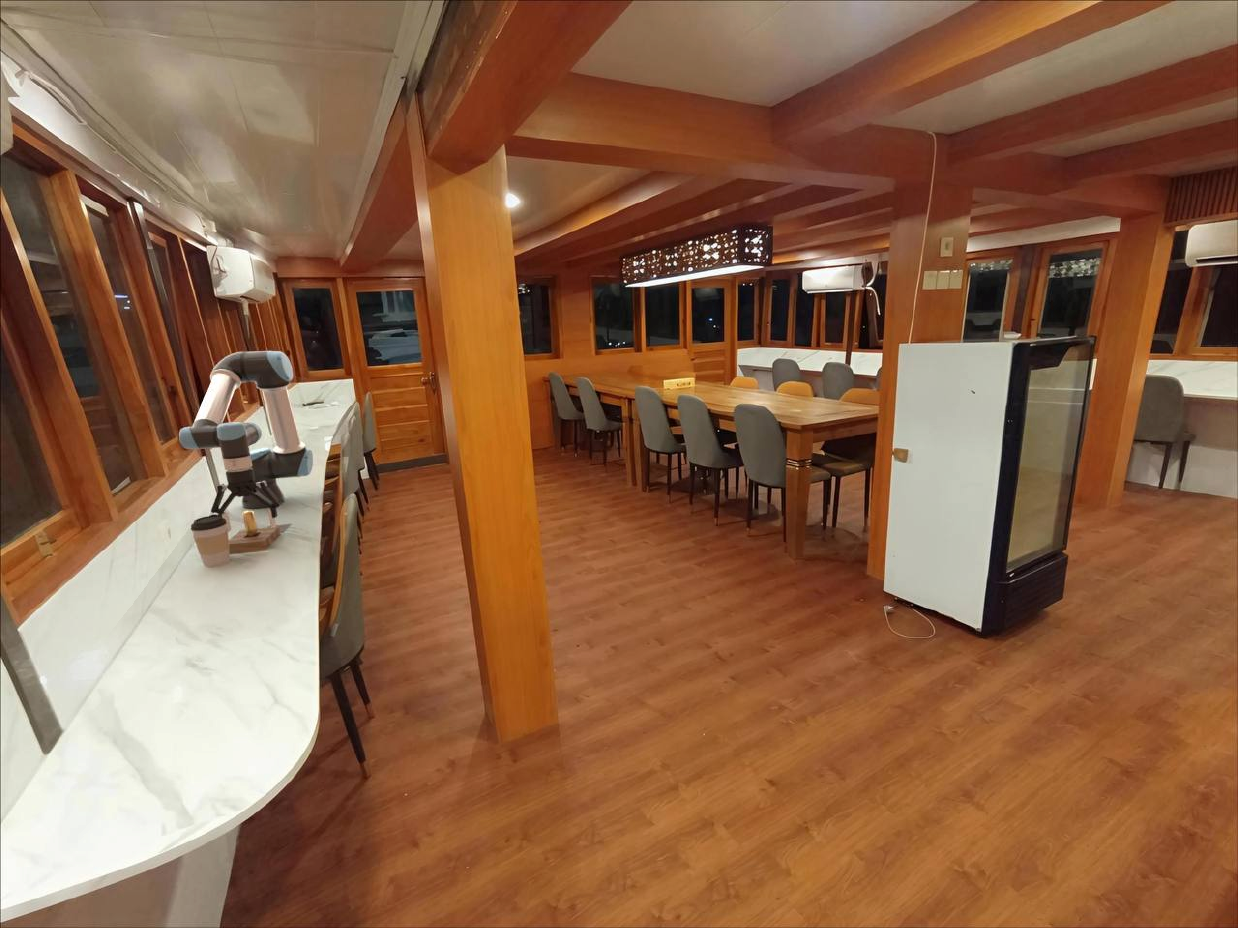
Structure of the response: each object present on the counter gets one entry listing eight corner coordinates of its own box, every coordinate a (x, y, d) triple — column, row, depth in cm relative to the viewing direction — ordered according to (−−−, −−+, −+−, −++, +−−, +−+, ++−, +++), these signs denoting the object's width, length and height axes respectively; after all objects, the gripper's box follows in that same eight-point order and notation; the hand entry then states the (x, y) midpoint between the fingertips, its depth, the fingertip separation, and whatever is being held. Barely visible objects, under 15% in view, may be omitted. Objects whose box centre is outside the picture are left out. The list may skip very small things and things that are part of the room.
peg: (251, 543, 183) (244, 510, 180) (261, 542, 184) (254, 509, 181) (247, 546, 180) (240, 513, 177) (257, 545, 181) (251, 512, 178)
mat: (268, 526, 199) (268, 525, 199) (292, 524, 201) (292, 523, 201) (258, 536, 189) (258, 535, 189) (283, 533, 191) (283, 532, 191)
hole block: (243, 538, 187) (241, 529, 186) (280, 535, 190) (279, 526, 189) (225, 554, 174) (223, 544, 173) (266, 550, 177) (264, 540, 176)
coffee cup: (220, 568, 164) (210, 523, 160) (192, 568, 164) (181, 523, 161) (241, 556, 173) (232, 512, 169) (214, 556, 173) (204, 513, 169)
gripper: (189, 475, 169) (203, 536, 174) (277, 468, 175) (288, 528, 180) (201, 469, 176) (214, 528, 181) (284, 463, 182) (295, 521, 187)
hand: (251, 528), depth 181 cm, fingers open, 13 cm apart
